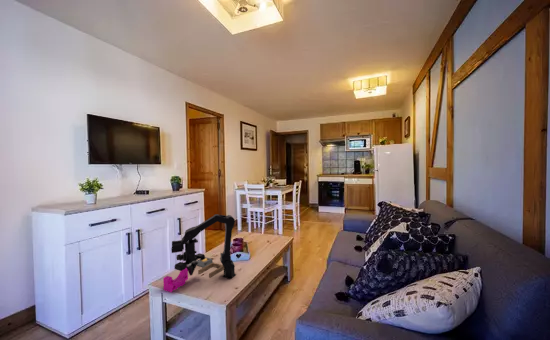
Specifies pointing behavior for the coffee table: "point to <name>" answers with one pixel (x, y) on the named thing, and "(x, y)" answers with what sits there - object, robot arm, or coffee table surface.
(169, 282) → the toy block
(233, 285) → the coffee table surface
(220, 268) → the brown wooden u-shaped frame
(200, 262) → the button housing
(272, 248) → the coffee table surface
